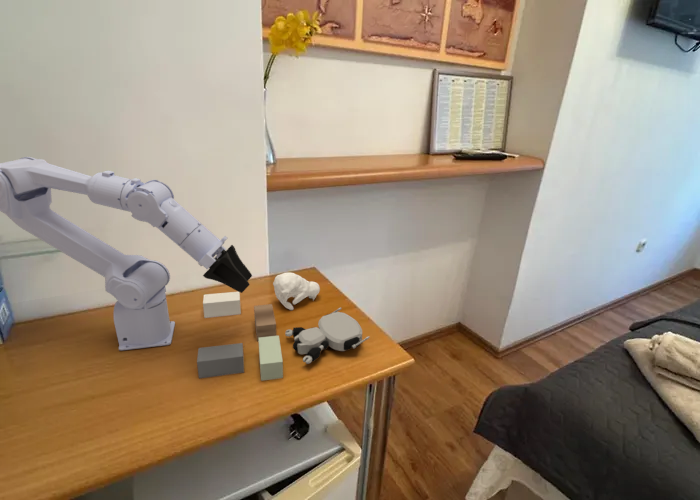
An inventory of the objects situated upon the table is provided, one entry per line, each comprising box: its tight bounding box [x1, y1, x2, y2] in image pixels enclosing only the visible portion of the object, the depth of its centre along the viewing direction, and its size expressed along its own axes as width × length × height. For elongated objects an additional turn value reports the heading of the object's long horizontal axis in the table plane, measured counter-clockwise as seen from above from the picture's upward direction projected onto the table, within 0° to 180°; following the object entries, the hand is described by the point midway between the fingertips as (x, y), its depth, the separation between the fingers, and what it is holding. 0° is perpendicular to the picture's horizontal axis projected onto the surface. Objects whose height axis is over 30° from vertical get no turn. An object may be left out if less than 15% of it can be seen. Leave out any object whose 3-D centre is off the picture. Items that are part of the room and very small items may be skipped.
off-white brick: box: [202, 291, 242, 319], centre depth 90 cm, size 8×4×4 cm, turn 106°
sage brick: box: [258, 335, 284, 381], centre depth 75 cm, size 8×4×4 cm, turn 15°
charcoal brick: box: [196, 342, 245, 379], centre depth 73 cm, size 8×4×4 cm, turn 105°
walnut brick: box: [253, 303, 277, 342], centre depth 85 cm, size 8×4×4 cm, turn 16°
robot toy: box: [284, 307, 370, 365], centre depth 81 cm, size 12×4×15 cm
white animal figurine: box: [272, 272, 321, 311], centre depth 95 cm, size 6×8×12 cm
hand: (247, 283), depth 74 cm, fingers open, 7 cm apart
